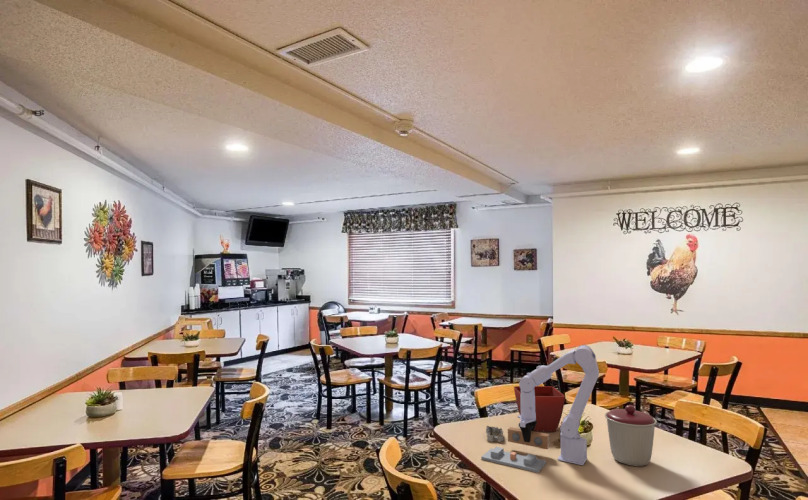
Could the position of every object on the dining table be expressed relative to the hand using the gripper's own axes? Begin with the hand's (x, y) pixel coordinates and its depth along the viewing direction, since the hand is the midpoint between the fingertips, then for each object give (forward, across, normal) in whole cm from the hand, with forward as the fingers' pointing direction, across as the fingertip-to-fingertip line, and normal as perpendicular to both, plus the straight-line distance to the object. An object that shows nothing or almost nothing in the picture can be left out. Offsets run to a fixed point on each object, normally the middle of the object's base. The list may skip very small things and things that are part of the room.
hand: (528, 440), depth 188 cm
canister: (+5, -13, +36) cm, 39 cm away
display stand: (+5, +12, -2) cm, 13 cm away
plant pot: (+5, -32, -5) cm, 33 cm away
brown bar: (+2, 0, 0) cm, 2 cm away
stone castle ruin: (+5, -8, -18) cm, 20 cm away
